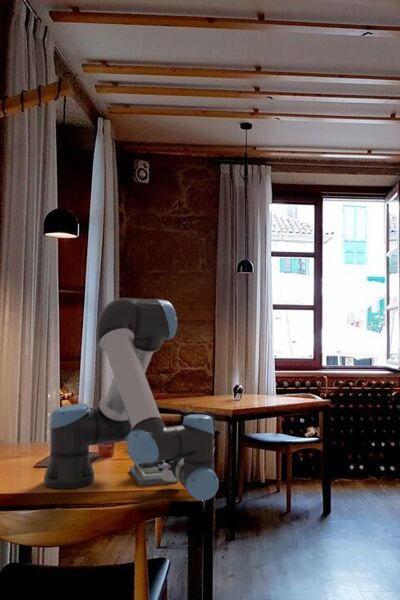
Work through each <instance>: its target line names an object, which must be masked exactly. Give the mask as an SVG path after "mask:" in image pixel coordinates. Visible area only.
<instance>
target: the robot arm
mask: <svg viewBox="0 0 400 600" xmlns="http://www.w3.org/2000/svg"><path fill="white" fill-rule="evenodd" d="M177 328H178V318H177V312H176V310H175V308H174V306H173V304H172V303H170V301H168V300H165V299H159V298H154V299H152V298H151V299H150V298H149V299H147V298H131V297H121V298H120V297H119V298H116V299H114V300H111V301H110V302H109V303H107V304H106V306H105V307H104V308H103V309H102V310H101V312H100V314H99V316H98V318H97V322H96V329H95V331H96V332H95V333H96V338H97V342H98V345H99V348H100V349H101V350H102V351H104V352H105V353H106V354H105V355H106V357H107V359H108V363H109V365H110V369H111V371H112V375H113V377H112V378H113V379H112V381H111V384H110V386H109V388H108V391H107V395H105V396H103V397H101V399H100V401H99V403H98V405H97V407H90V405H89V404H88V403H75V404H68V405H64V406H60V407H58V408H55V409H54V410H53V411H52V413H51V417H50V425H49V427H50V443H49V444H50V453H49V456H50V457H49V462H48V464H47V466H46V469H45V470H46V471H45V473H44V475H43V476H44V477H43V485H44V486H45V487H47V488H49V489H57V490H62V489H63V490H65V489H66V490H67V489H68V490H69V489H76V488H77V489H78V488H82V487H86V486H89V485H91V484H93V483H94V482H95V470H94V469H93V465H92V461H91V458H90V446H98V444H106V443H116V444H117V443H120V442H121V443H122V442H124V441H126V446H127V449H126V450H127V454H128V456H129V458H130V460H131V461H132V462H133V464H134V463H137V464H141V463H152V464H153V465H155V466H156V467H157V468H158V471H163V470H165V468H168V469H169V470H171V471H172V473H173V475H174V476H175V478H176V479H177V480H178V481H179V482H178V483H180V485H182V486H183V487H184V488H185V490H186V491H187V493H188V494H189V495H190V496H191V497H193V498H195V499H196V500H198V501H207V500H210V499H212V498H213V497H214V496H215V494H216V493H217V491H218V490H219V485H220V484H219V483H220V482H219V478H218V475H217V474H216V472H215V458H214V448H215V447H214V446H215V445H214V442H215V438H214V437H215V426H214V420H213V417H211V416H210V415H208V414H207V415H206V414H188V415H185V416H184V417H183V421H182V424H180V425H172V426H165V423H164V422H163V419H162V416H161V414H160V411H159V409H158V406H157V403H156V400H155V398H154V395H153V393H152V390H151V387H150V385H149V384H150V383H149V382H148V379H147V376H146V372H147V369H148V366H149V365H150V362H151V359H152V357H153V355H154V353H155V352H158V351H159V350H160V349H161V347H162V345H163V343H164V340H167V341H168V340H170V339H173V338H174V337H175V335H176V334H177V330H178V329H177Z"/></svg>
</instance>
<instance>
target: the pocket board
mask: <svg viewBox="0 0 400 600" xmlns="http://www.w3.org/2000/svg"><path fill="white" fill-rule="evenodd" d="M129 472H130V474H131V476H132V477H133V478H134V480H135V481H136V483H137V484H138V486H139V487H141V486H151V485H163V484H164V485H165V483H166V484H175V483H176V482H166V481H164V480H163V479H162V471H158V468H157V467H149V468H141V464H137V463H134V462H133V465H132V466H129ZM176 484H177V483H176Z"/></svg>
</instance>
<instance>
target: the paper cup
mask: <svg viewBox="0 0 400 600" xmlns="http://www.w3.org/2000/svg"><path fill="white" fill-rule="evenodd" d="M115 445H116V444H115V443H106V444H97V448H98V457H99V458H102V459H105V458H107V459H108V458H113V457H114V456H115Z"/></svg>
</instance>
